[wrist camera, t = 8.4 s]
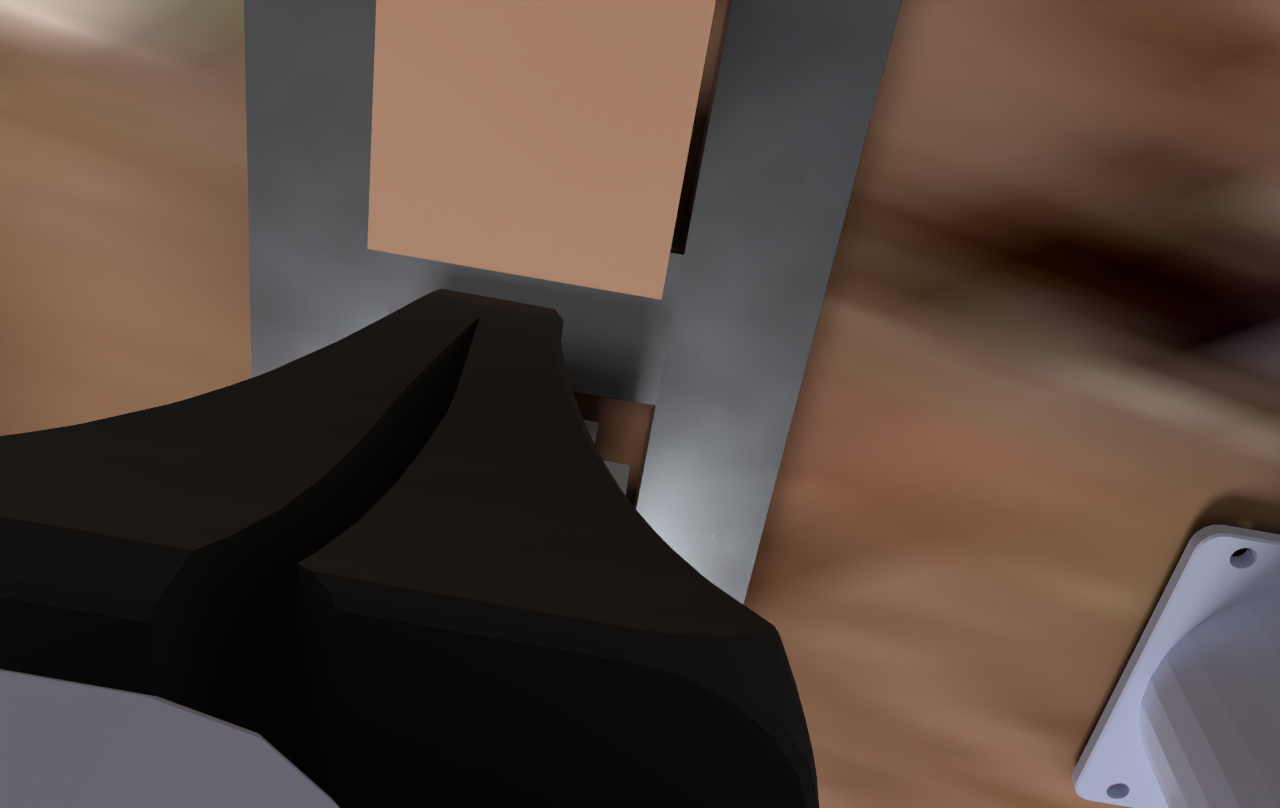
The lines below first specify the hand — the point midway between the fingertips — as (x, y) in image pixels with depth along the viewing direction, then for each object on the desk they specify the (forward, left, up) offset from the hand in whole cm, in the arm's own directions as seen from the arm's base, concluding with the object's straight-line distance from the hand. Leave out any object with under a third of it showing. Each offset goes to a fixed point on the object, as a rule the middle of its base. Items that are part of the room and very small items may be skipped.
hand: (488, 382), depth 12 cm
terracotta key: (0, -1, -8) cm, 8 cm away
